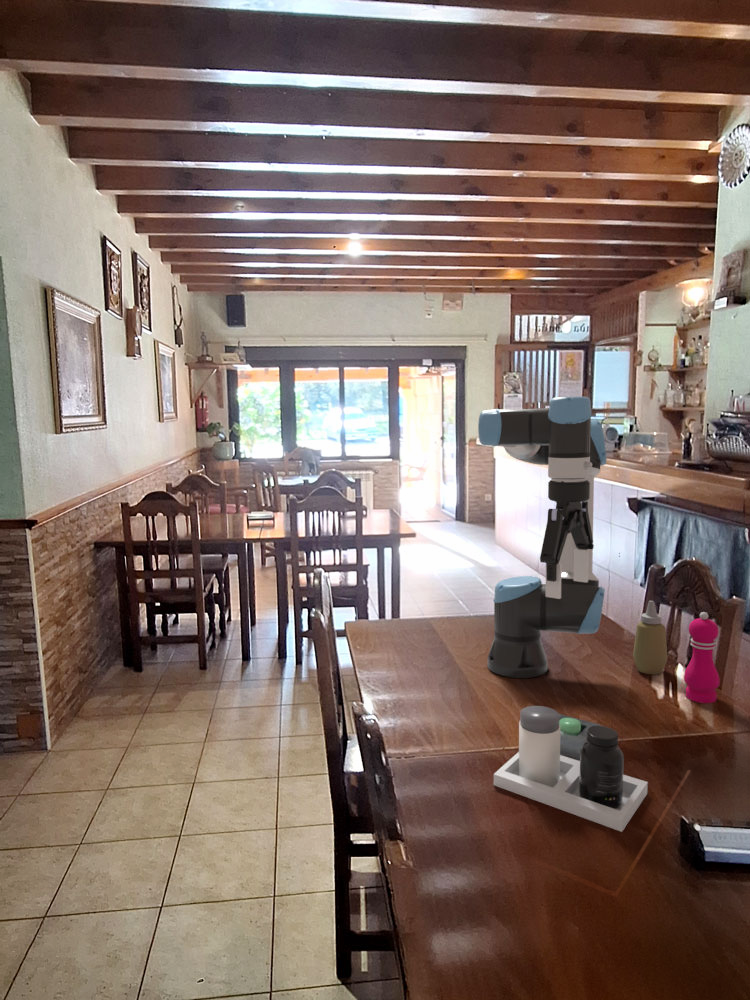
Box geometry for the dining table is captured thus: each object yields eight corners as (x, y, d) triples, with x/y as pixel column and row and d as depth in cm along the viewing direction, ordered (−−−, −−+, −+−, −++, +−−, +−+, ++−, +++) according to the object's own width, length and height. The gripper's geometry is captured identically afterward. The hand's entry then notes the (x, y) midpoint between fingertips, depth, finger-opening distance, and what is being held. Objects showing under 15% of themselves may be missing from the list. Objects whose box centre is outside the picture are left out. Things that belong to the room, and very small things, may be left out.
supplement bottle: (572, 790, 112) (573, 723, 110) (610, 787, 113) (612, 720, 111) (590, 814, 105) (592, 743, 104) (630, 810, 106) (633, 740, 104)
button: (555, 739, 127) (556, 723, 127) (564, 731, 130) (564, 716, 130) (575, 745, 125) (576, 729, 125) (583, 736, 128) (584, 721, 128)
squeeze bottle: (665, 666, 168) (667, 598, 166) (668, 678, 160) (670, 606, 158) (631, 663, 170) (633, 596, 168) (633, 675, 163) (634, 604, 161)
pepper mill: (723, 705, 145) (726, 617, 142) (687, 703, 146) (691, 616, 144) (713, 692, 152) (716, 608, 149) (679, 690, 153) (682, 607, 151)
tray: (493, 787, 114) (493, 774, 114) (526, 757, 124) (526, 744, 124) (621, 834, 101) (622, 819, 100) (647, 796, 111) (647, 782, 110)
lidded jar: (512, 781, 115) (512, 715, 114) (529, 764, 121) (529, 702, 119) (549, 794, 111) (550, 726, 110) (566, 776, 116) (566, 711, 115)
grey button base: (538, 749, 127) (538, 729, 127) (557, 731, 134) (557, 713, 134) (583, 763, 122) (583, 743, 121) (600, 744, 129) (601, 725, 128)
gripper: (562, 487, 112) (560, 608, 114) (611, 474, 131) (609, 577, 134) (521, 485, 116) (520, 601, 119) (574, 472, 136) (573, 573, 138)
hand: (567, 589), depth 126 cm, fingers open, 13 cm apart
